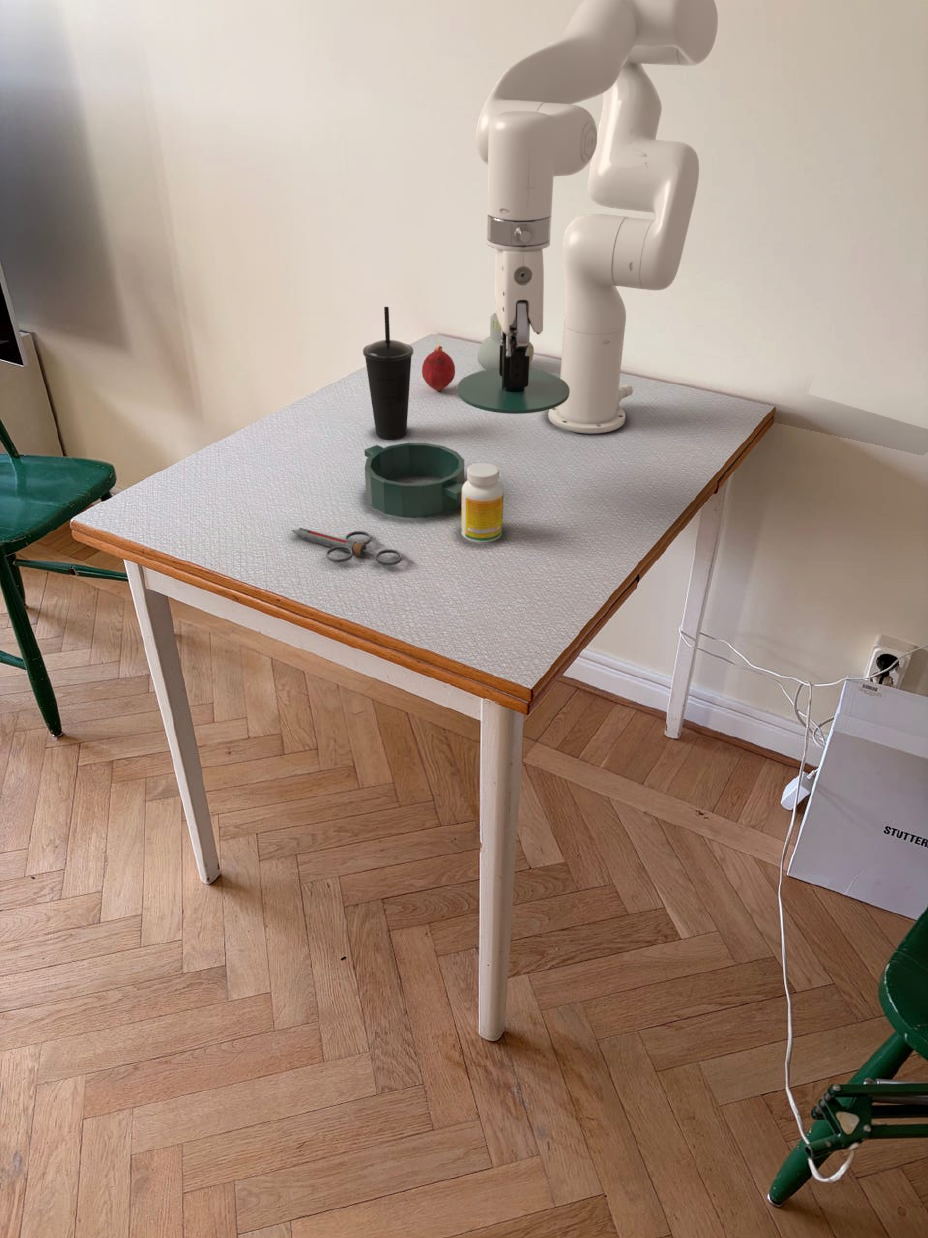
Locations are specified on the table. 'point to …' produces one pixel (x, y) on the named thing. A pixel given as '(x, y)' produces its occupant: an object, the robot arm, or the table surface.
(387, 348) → the drinking cup
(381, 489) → the pot
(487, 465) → the supplement bottle
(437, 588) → the table surface
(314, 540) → the syringe
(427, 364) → the onion
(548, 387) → the lid
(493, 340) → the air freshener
